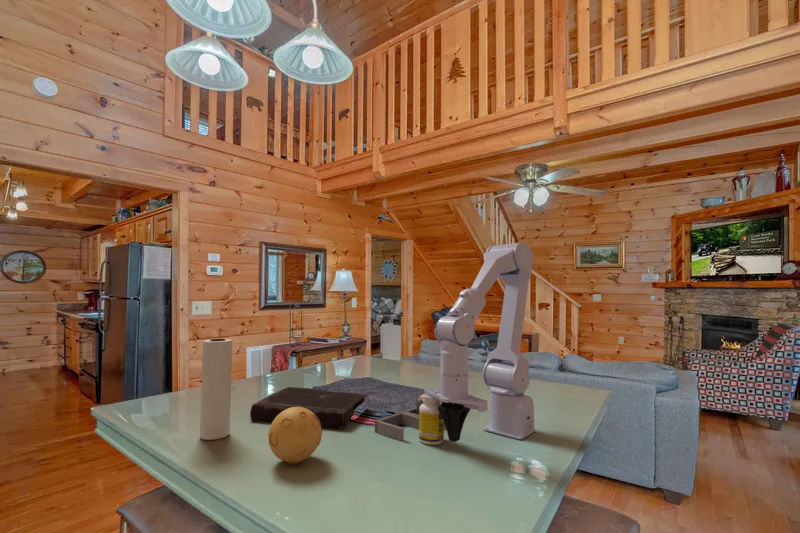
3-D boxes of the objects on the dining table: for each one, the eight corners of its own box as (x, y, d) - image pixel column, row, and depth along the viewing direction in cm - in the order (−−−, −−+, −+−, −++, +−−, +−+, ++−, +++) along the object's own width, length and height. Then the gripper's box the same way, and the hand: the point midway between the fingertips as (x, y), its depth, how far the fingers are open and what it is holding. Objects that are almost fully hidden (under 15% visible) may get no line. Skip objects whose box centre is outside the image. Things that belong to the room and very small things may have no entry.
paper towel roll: (223, 440, 86) (226, 341, 87) (194, 441, 86) (198, 341, 87) (235, 429, 93) (237, 337, 95) (208, 429, 93) (211, 337, 94)
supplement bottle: (442, 446, 83) (442, 398, 84) (417, 444, 84) (417, 397, 85) (445, 437, 89) (444, 392, 89) (421, 435, 90) (421, 391, 90)
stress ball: (274, 458, 79) (247, 439, 72) (302, 413, 85) (279, 391, 78) (311, 478, 74) (286, 459, 68) (338, 429, 80) (318, 406, 73)
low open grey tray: (446, 421, 99) (446, 395, 99) (401, 440, 86) (401, 410, 87) (395, 408, 110) (395, 384, 111) (348, 423, 98) (348, 396, 98)
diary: (343, 434, 93) (343, 412, 93) (249, 424, 99) (250, 404, 99) (369, 409, 111) (369, 391, 111) (289, 403, 117) (289, 385, 117)
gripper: (415, 371, 85) (415, 436, 84) (474, 382, 76) (474, 455, 75) (435, 367, 91) (435, 428, 90) (492, 376, 81) (493, 444, 80)
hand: (454, 440), depth 83 cm, fingers closed
